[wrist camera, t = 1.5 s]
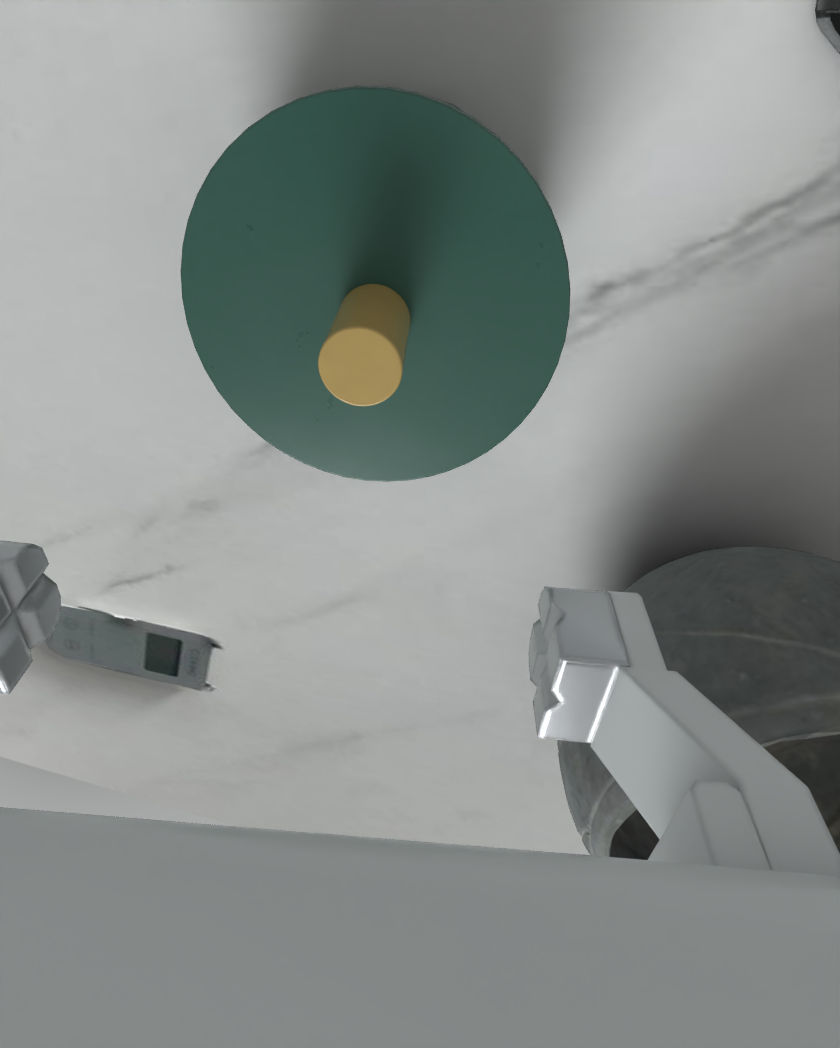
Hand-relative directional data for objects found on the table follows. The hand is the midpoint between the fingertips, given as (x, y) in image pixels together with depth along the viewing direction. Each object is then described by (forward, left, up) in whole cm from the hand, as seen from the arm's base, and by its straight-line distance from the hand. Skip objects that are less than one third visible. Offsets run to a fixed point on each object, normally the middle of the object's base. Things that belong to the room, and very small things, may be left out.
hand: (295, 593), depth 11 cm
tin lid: (0, 0, -14) cm, 14 cm away
